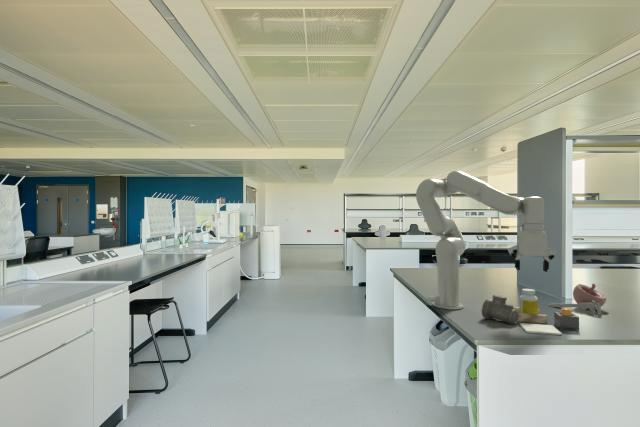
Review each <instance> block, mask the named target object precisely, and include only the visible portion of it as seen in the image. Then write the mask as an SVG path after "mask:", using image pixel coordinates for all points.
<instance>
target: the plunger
mask: <svg viewBox="0 0 640 427" xmlns="http://www.w3.org/2000/svg"><path fill="white" fill-rule="evenodd" d="M560 310H561V315H564V316H571V313H572V309H571V308H568V307H561V309H560Z"/></svg>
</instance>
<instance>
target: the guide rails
mask: <svg viewBox="0 0 640 427" xmlns="http://www.w3.org/2000/svg"><path fill="white" fill-rule="evenodd" d="M514 309H516V310H517V312H518V320H517V322H520V323H533V324H548V315H547V314H541V313H540V312H541V311H540V308H538V314H524V313H520V307H518V306H517V307H515V306H514Z"/></svg>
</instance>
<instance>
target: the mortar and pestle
mask: <svg viewBox="0 0 640 427" xmlns="http://www.w3.org/2000/svg"><path fill="white" fill-rule="evenodd" d="M596 287H597V286H596V284H595V283H592V284H591V287H590V286H588V285H586V284H581V283H578V284H576V286H575V287H574V288H573V290H572V297H573V299H574V301H575V302H576V303H575V304H580V303H593V302H592V300H594V301H596V300H597V303H599V304H600V307H601V308H602V307H603V306H604V305H605V304H606V302H607V297H606V296H605V295H604V294H602V293H601V292H600V291H598V290H596ZM594 309H595V310H597V309H596V308H594ZM588 310H590V308H589V309H588Z"/></svg>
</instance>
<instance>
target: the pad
mask: <svg viewBox="0 0 640 427" xmlns="http://www.w3.org/2000/svg"><path fill="white" fill-rule="evenodd" d="M519 325H520V327H521V328H522V329H523V330H524V332H526V333H527V334H543V335H553V336H563V333H562V332H561V330H560V329H558V328H557V327H556V326H555V325H551V324H542V323H528V322H520V323H519Z"/></svg>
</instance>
